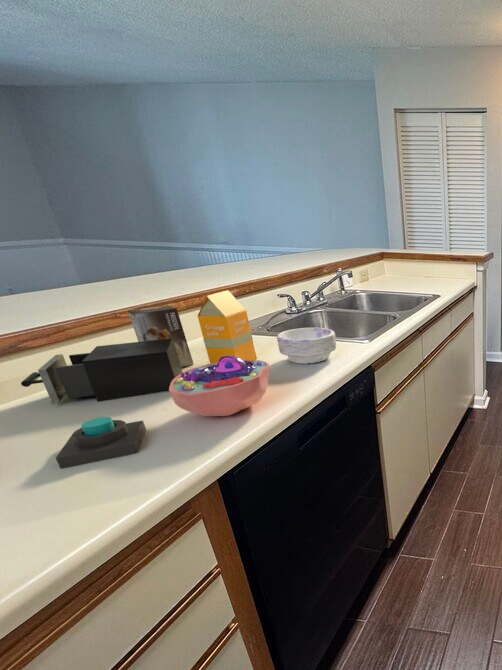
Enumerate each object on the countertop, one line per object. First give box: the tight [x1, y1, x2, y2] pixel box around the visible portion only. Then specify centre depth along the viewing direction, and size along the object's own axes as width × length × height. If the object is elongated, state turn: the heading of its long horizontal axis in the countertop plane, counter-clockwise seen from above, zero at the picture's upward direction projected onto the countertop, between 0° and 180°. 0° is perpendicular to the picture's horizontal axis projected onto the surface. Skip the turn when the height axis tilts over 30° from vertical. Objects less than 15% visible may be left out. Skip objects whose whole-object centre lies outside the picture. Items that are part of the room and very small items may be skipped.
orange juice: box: [197, 289, 258, 364], centre depth 116 cm, size 8×9×20 cm
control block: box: [55, 419, 147, 470], centre depth 76 cm, size 10×10×4 cm
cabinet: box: [82, 338, 184, 402], centre depth 101 cm, size 15×13×10 cm
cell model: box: [168, 355, 270, 417], centre depth 90 cm, size 17×20×11 cm
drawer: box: [20, 352, 95, 404], centre depth 96 cm, size 18×11×8 cm, turn 122°
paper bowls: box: [276, 327, 337, 365], centre depth 122 cm, size 15×15×8 cm
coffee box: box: [127, 304, 194, 368], centre depth 113 cm, size 9×6×16 cm
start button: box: [80, 416, 115, 435], centre depth 75 cm, size 4×4×2 cm
